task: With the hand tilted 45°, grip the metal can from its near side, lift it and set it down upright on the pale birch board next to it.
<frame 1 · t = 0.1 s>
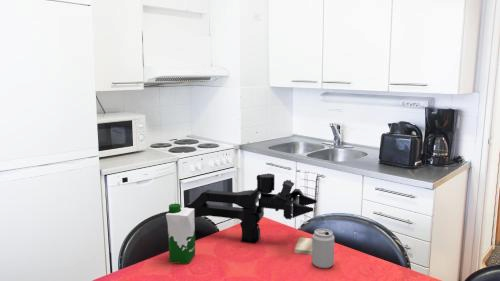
hand: (314, 205, 149), 17 cm above the table, tool horizontal, fingers open, 9 cm apart
milk carton: (182, 259, 144), on the table
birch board: (311, 248, 151), on the table
can: (322, 264, 139), on the table
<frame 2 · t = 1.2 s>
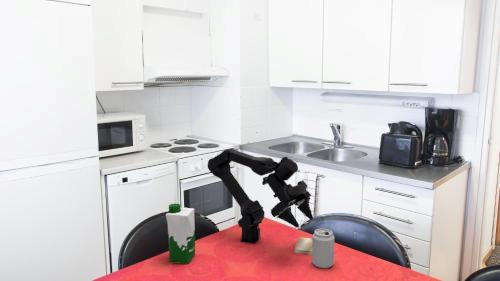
hand: (305, 223, 141), 13 cm above the table, tool tilted 45°, fingers open, 9 cm apart
nothing on the table moved.
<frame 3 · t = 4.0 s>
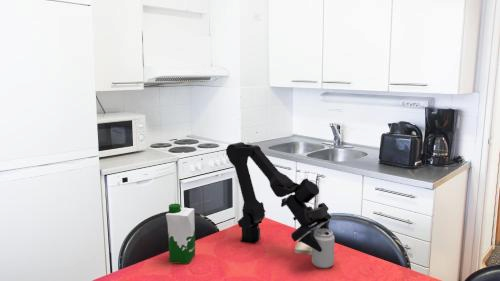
hand: (326, 247, 137), 7 cm above the table, tool tilted 45°, fingers closed on can, 7 cm apart
can: (322, 264, 139), on the table, touching gripper
everything else where it was.
when the fingers open (9 cm above the table, at t = 8.9 s): can drops 1 cm, resting on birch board.
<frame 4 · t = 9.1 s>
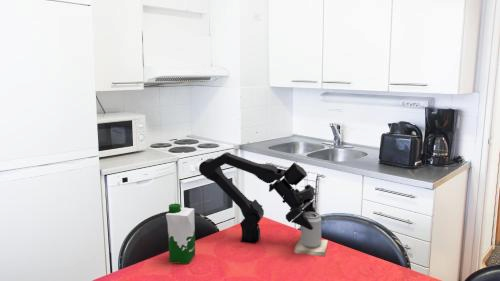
hand: (315, 224, 149), 10 cm above the table, tool tilted 45°, fingers open, 9 cm apart
can: (311, 244, 151), point 1 cm above the table, touching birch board
everything else where it was.
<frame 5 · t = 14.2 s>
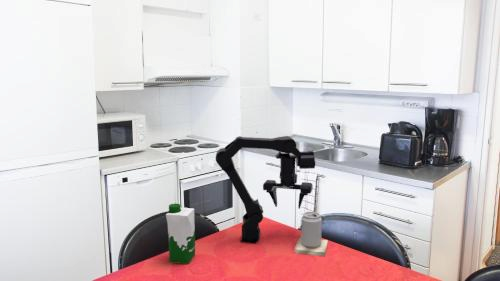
hand: (287, 207, 158), 13 cm above the table, tool pointing down, fingers open, 9 cm apart
nothing on the table moved.
at the end: can inside the target area on the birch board (0.2 cm from its centre), point 1.3 cm above the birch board's base; can tilted 0°; the gripper is holding nothing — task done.
